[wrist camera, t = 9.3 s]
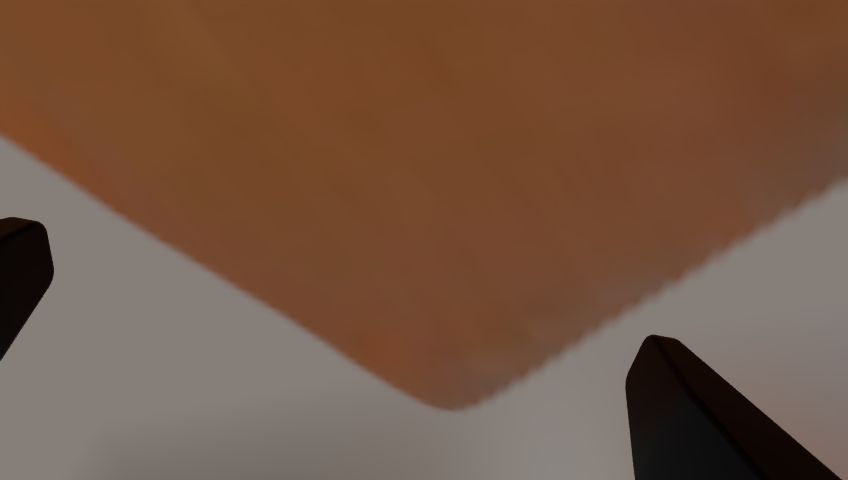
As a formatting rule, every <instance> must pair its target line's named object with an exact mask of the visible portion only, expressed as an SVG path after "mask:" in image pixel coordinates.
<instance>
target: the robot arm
mask: <svg viewBox="0 0 848 480" xmlns="http://www.w3.org/2000/svg"><path fill="white" fill-rule="evenodd" d="M53 275H54V266H53V261H52V256H51V250H50V245H49V240H48V235H47V231H46V228H45V227H44V225H43V224H41V223H40V222H38V221H32V220H28V219H22V218H16V217H9V218H4V219H0V361H1V359H2V358H3V357H4V355H5V354H6V352H7V351H8V349H9V348H10V346H11V344H12V343H13V341H14V340H15V338H16V337H17V335H18V333H19V332H20V331H21V329H22V328H23V326H24V324H25V323H26V321H27V320H28V318H29V317H30V315H31V314H32V312H33V311H34V309H35V308H36V306H37V305H38V303H39V301H40V300H41V298H42V297H43V295H44V294H45V292H46V291H47V289H48V288H49V286H50V284H51V282H52V279H53ZM625 389H626V399H627V409H628V418H629V428H630V438H631V448H632V458H633V467H634V475H635V480H842V479H840V478H839V477H838V476H837V475H835V473H833V472H832V471H831V470H830V469H829V468H828V467H826V466H825V465H824V464H823V463H822V462H820V461H819V460H818V459H817V458H816V457H815V456H813V455H812V454H811V453H810V452H809V451H808V450H806V449H805V448H804V447H803V446H802V445H801V444H799V443H798V442H797V441H796V440H795V439H794V438H792V437H791V436H790V435H789V434H788V433H787V432H785V431H784V430H783V429H782V428H781V427H779V426H778V425H777V424H776V423H775V422H774V421H773V420H771V419H770V418H769V417H768V416H767V415H765V414H764V413H763V412H762V411H761V410H760V409H758V408H757V407H756V406H755V405H754V404H752V403H751V402H750V401H749V400H748V399H747V398H746V397H744V396H743V395H742V394H741V393H740V392H738V391H737V390H736V389H735V388H734V387H733V386H732V385H730V384H729V383H728V382H727V381H726V380H724V379H723V378H722V377H721V376H720V375H719V374H717V373H716V372H715V371H714V370H713V369H712V368H710V367H709V366H708V365H707V364H706V363H705V362H703V361H702V360H701V359H700V358H699V357H697V356H696V355H695V354H694V353H693V352H692V351H691V350H689V349H688V348H687V347H686V346H685V345H683V344H682V343H681V342H680V341H679V340H677V339H674V338H670V337H664V336H658V335H650V336H648V337H646V339H645V340H644V341H643V343H642V345H641V347H640V349H639V351H638V353H637V356H636V357H635V360H634V362H633V363H632V366H631V368H630V370H629V372H628V375H627V378H626V387H625Z"/></svg>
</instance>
